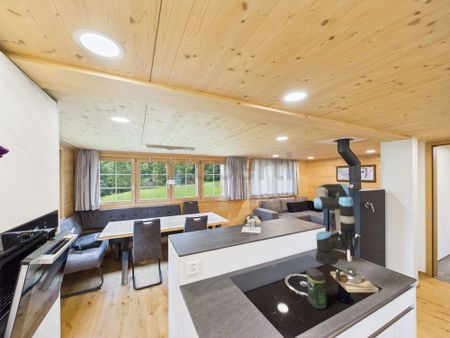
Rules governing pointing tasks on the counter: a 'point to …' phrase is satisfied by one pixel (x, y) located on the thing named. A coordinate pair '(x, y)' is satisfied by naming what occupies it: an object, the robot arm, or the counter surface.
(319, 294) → the coffee jar
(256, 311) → the counter surface
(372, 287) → the stand
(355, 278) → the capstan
